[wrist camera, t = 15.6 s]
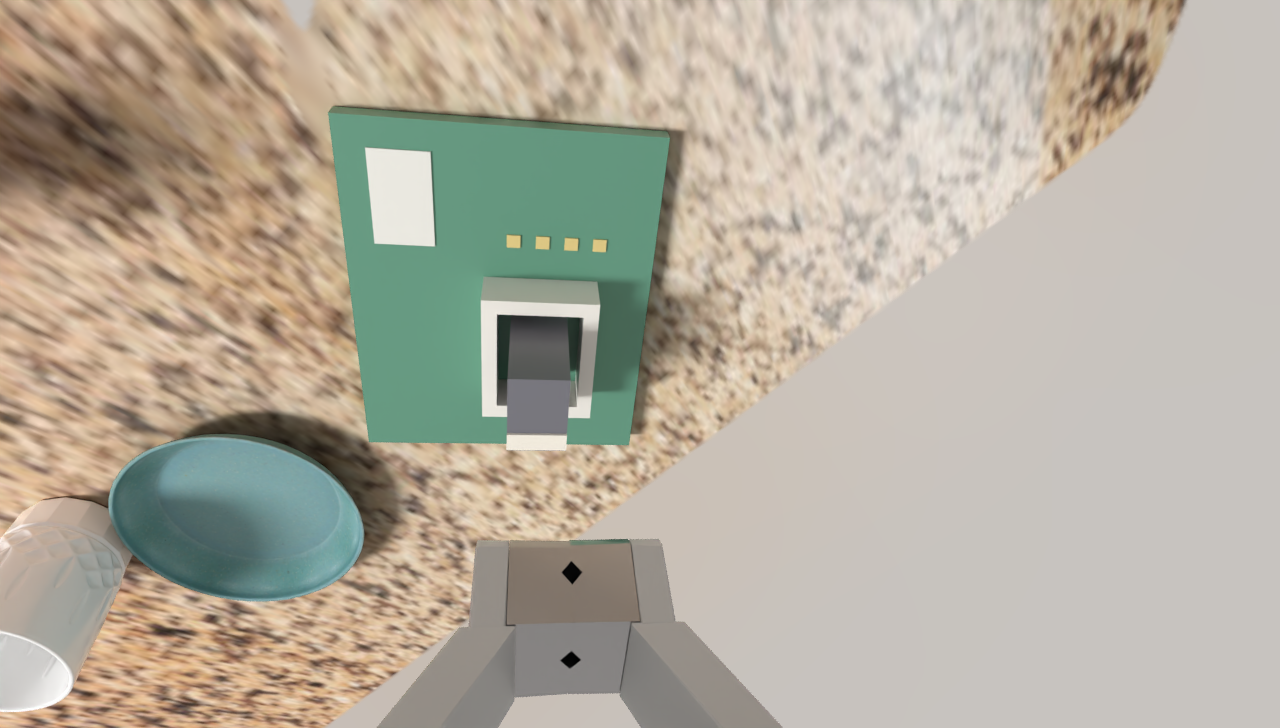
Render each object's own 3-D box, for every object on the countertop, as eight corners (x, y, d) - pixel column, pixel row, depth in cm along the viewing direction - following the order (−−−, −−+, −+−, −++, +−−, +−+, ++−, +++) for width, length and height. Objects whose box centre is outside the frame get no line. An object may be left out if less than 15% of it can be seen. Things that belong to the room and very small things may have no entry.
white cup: (174, 553, 51) (105, 690, 43) (71, 585, 52) (-16, 726, 44) (91, 474, 47) (-4, 611, 38) (-21, 511, 47) (-137, 652, 39)
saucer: (102, 401, 44) (79, 430, 42) (367, 416, 47) (359, 444, 44) (151, 569, 52) (134, 601, 50) (374, 574, 55) (368, 604, 53)
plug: (511, 303, 42) (507, 380, 36) (566, 305, 42) (570, 382, 36) (510, 369, 44) (506, 452, 38) (562, 371, 45) (565, 452, 39)
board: (332, 106, 36) (315, 130, 33) (667, 131, 38) (677, 155, 35) (372, 431, 47) (361, 470, 44) (627, 434, 49) (632, 472, 47)
